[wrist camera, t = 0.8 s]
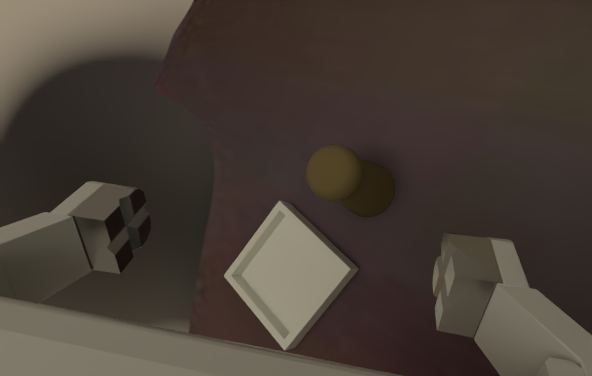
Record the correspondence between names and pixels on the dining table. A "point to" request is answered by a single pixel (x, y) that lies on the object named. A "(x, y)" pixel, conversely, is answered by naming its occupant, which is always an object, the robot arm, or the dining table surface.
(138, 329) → the robot arm
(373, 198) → the cork
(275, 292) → the tray
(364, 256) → the dining table surface
